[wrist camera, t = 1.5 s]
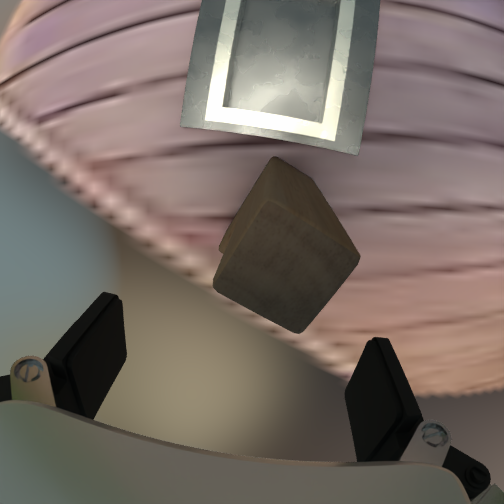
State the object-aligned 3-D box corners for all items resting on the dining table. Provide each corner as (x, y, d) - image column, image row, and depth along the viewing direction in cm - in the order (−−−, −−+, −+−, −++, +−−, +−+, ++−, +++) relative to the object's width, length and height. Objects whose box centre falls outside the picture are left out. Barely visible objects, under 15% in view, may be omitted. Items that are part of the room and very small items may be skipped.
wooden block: (264, 257, 31) (247, 397, 15) (224, 234, 31) (166, 357, 14) (315, 180, 28) (366, 259, 11) (273, 154, 27) (266, 194, 11)
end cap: (377, -4, 20) (388, -17, 17) (355, 154, 27) (365, 158, 24) (212, -30, 20) (204, -46, 17) (183, 126, 27) (170, 126, 24)
